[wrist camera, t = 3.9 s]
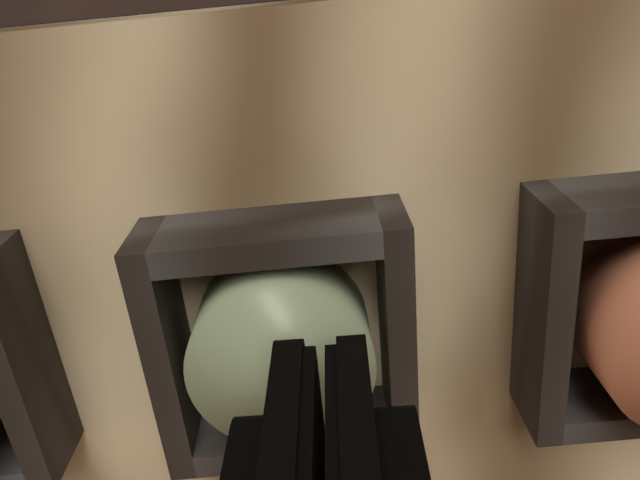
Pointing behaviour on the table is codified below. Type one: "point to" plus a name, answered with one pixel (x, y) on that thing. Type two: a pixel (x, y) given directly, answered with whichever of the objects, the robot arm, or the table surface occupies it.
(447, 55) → the button panel
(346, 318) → the sage button
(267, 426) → the robot arm
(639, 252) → the terracotta button
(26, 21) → the table surface
